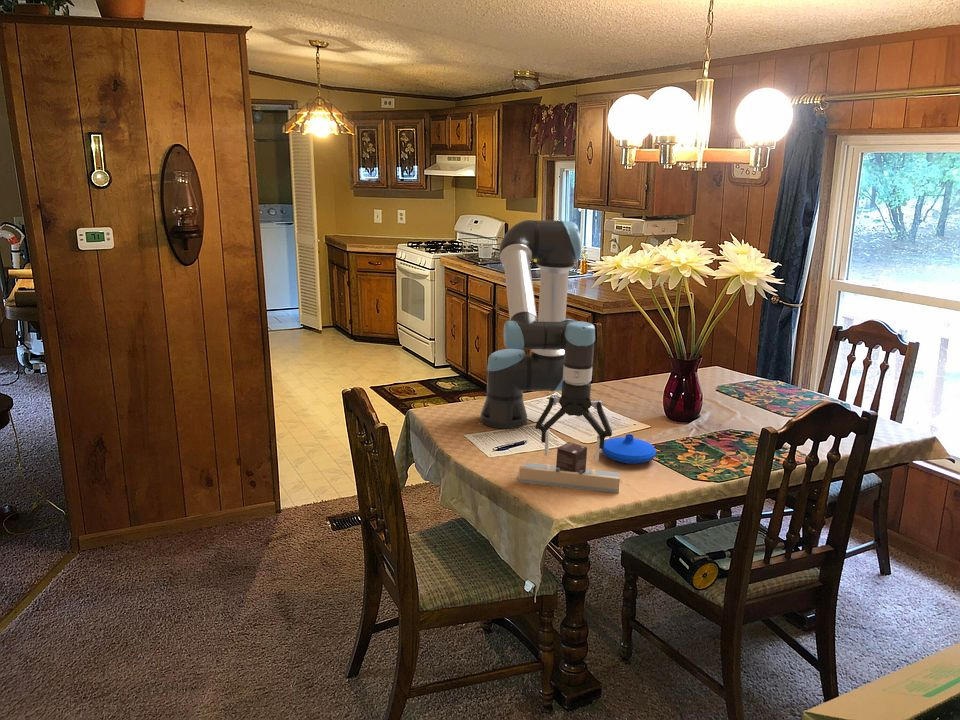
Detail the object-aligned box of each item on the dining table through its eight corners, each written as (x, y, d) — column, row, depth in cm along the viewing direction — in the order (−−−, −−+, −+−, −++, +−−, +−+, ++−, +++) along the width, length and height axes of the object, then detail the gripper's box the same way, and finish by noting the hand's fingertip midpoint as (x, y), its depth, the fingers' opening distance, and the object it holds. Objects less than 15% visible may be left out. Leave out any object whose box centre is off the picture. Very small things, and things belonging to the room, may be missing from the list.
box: (567, 466, 207) (568, 441, 205) (586, 472, 203) (588, 447, 201) (555, 473, 202) (556, 447, 200) (574, 479, 198) (576, 453, 196)
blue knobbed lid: (602, 467, 209) (604, 444, 208) (597, 446, 225) (599, 424, 223) (659, 470, 209) (662, 447, 207) (650, 449, 224) (652, 427, 222)
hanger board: (524, 466, 208) (525, 450, 207) (619, 476, 204) (620, 459, 202) (518, 482, 198) (519, 465, 197) (618, 493, 193) (620, 476, 192)
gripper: (527, 381, 195) (523, 456, 200) (625, 390, 190) (618, 467, 196) (531, 373, 202) (527, 446, 208) (625, 381, 197) (618, 456, 203)
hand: (571, 456), depth 202 cm, fingers open, 13 cm apart
